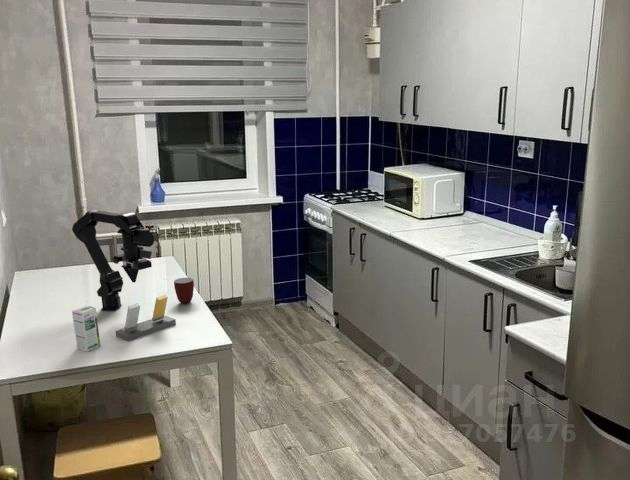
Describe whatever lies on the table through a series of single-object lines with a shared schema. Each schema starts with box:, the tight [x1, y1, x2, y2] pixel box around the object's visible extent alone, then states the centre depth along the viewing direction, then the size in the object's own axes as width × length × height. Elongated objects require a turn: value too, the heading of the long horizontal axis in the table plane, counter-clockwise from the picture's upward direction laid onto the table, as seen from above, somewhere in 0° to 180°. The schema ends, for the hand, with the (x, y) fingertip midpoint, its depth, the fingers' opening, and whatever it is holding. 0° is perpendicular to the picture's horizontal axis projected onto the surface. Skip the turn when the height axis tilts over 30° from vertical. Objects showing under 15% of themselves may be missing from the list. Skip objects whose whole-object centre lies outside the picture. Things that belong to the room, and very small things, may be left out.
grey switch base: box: [115, 314, 177, 342], centre depth 228 cm, size 21×8×2 cm, turn 140°
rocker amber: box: [151, 294, 169, 322], centre depth 229 cm, size 2×4×11 cm, turn 140°
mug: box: [173, 277, 195, 305], centre depth 255 cm, size 10×8×10 cm
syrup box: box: [71, 305, 102, 352], centre depth 212 cm, size 6×6×14 cm
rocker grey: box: [124, 303, 141, 331], centre depth 221 cm, size 2×4×11 cm, turn 140°
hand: (134, 282), depth 244 cm, fingers closed
